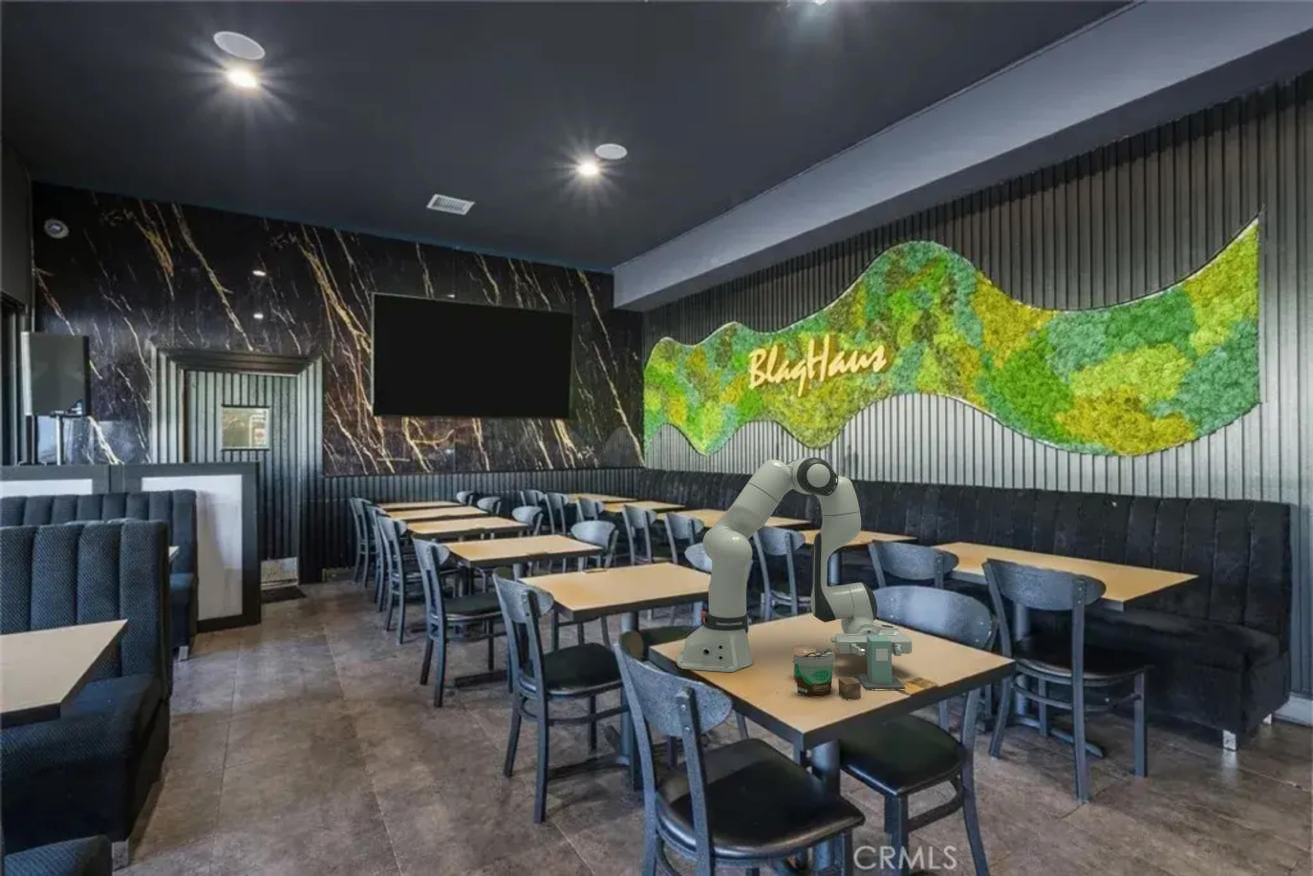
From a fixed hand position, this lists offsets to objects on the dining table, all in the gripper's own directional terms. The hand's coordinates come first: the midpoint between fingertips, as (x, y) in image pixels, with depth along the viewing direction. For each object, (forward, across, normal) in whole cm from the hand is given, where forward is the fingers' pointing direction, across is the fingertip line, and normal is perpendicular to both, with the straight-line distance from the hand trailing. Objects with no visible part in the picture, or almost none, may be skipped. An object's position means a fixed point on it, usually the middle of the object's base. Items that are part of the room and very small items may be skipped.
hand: (880, 653), depth 170 cm
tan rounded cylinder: (-4, -19, +8) cm, 21 cm away
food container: (+6, -17, +8) cm, 20 cm away
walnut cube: (+8, -10, +8) cm, 15 cm away
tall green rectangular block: (-1, 0, +7) cm, 7 cm away
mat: (-1, 0, +8) cm, 8 cm away
